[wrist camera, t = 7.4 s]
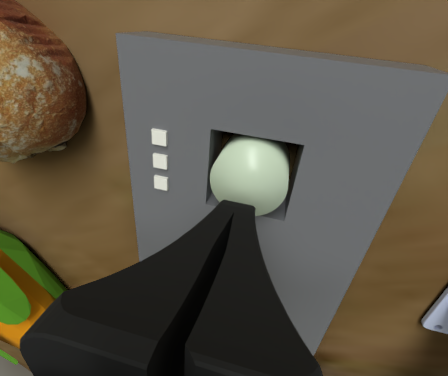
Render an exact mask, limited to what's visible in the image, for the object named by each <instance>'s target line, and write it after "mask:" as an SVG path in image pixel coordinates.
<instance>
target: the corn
mask: <svg viewBox="0 0 448 376" xmlns="http://www.w3.org/2000/svg"><path fill="white" fill-rule="evenodd" d="M64 291H67V289H66V288H65V287H64V285H63V284H62V283H61V282H60V281H59V280H58V279H57V278H56V277H55V275H54V274H53V273H52V272H51V271H50V270H49V269H48V268H47V267H46V266H45V265H44V264H43V263H42V262H41V261H40V260H39V259H38V258H37V257H36V256H35V255H34V254H33V253H32V252H31V251H30V250H29V249H28V248H27V247H26V246H25V245H24V244H23V243H22V242H21V241H20V240H18V239H17V238H16V237H15V236H14V235H13V234H10V233H8V232H5V231H2V230H0V340H1V341H3V342H6V343H8V344H10V345H12V346H14V347H17V348H19V349H20V339H21V337H22V336H23V335H24V334H25V333H26V332H27V331H28V329H29V328H30V327H31V326H32V325H33V324H34V323H35V321H36V320H37V319H38V318H39V317H40V316H41V315H42V314H43V312H44V311H45V310H46V309H47V308H48V307H49V306H50V304H51V303H52V302H53V301H55V300H56V299H57V298H58V297H59V296H60V295H61V294H62V293H63V292H64ZM0 356H2V357H4V358H5V359H7V360H9V361H10V362H12V363H14V364H18V362H17V360H16V359H14V358H13V357H11V356H10V355H8V354H7V353H5V352H4V351H2V350H0Z"/></svg>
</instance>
